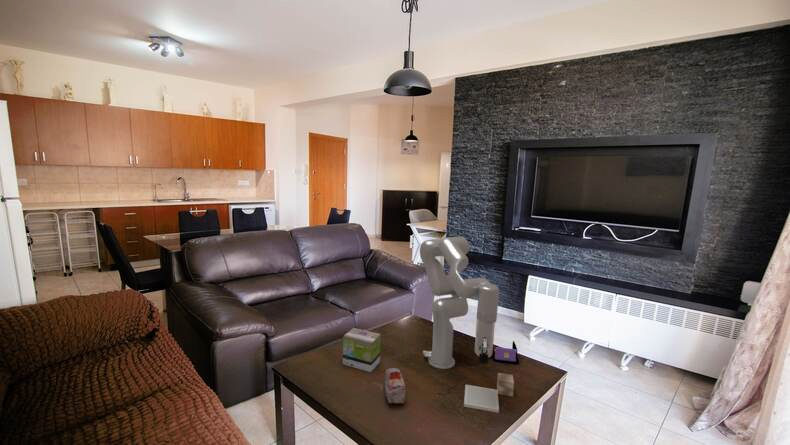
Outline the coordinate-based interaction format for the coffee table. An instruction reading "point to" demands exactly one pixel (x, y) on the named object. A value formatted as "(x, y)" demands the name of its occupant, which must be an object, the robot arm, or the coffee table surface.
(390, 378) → the food item
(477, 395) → the plate
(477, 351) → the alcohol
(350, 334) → the tea box
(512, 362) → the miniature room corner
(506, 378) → the maple cube
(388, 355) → the coffee table surface
